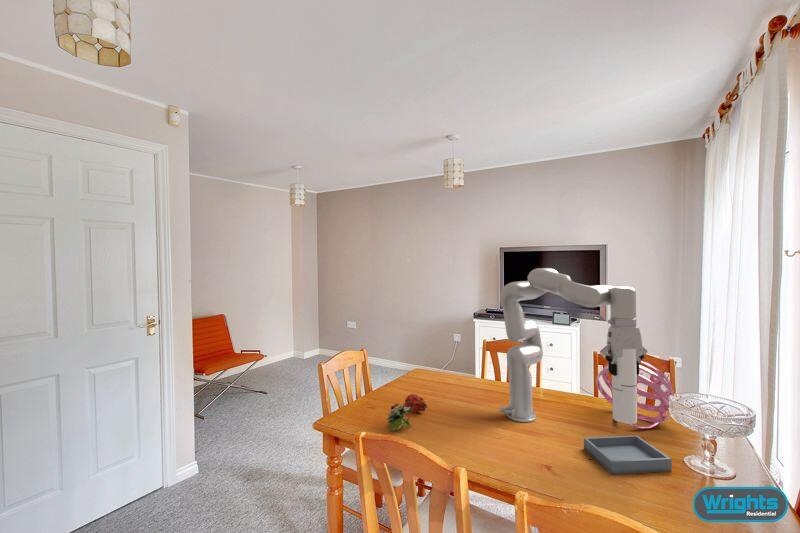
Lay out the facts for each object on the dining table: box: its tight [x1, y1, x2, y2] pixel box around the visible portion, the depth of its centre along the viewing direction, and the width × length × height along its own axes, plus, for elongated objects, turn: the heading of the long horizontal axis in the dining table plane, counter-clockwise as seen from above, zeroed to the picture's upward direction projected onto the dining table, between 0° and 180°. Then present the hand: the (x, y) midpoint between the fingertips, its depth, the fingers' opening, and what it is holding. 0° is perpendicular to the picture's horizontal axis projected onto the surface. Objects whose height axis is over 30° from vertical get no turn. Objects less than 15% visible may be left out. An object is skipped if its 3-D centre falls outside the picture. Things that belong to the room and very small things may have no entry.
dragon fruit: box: [403, 393, 428, 415], centre depth 168 cm, size 8×8×12 cm
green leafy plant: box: [386, 403, 413, 433], centre depth 152 cm, size 11×11×12 cm
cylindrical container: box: [611, 349, 638, 425], centre depth 124 cm, size 7×7×25 cm
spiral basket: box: [596, 360, 675, 430], centre depth 152 cm, size 28×28×27 cm
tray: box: [583, 434, 673, 475], centre depth 124 cm, size 20×16×4 cm
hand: (624, 373), depth 124 cm, fingers closed on cylindrical container, 7 cm apart
